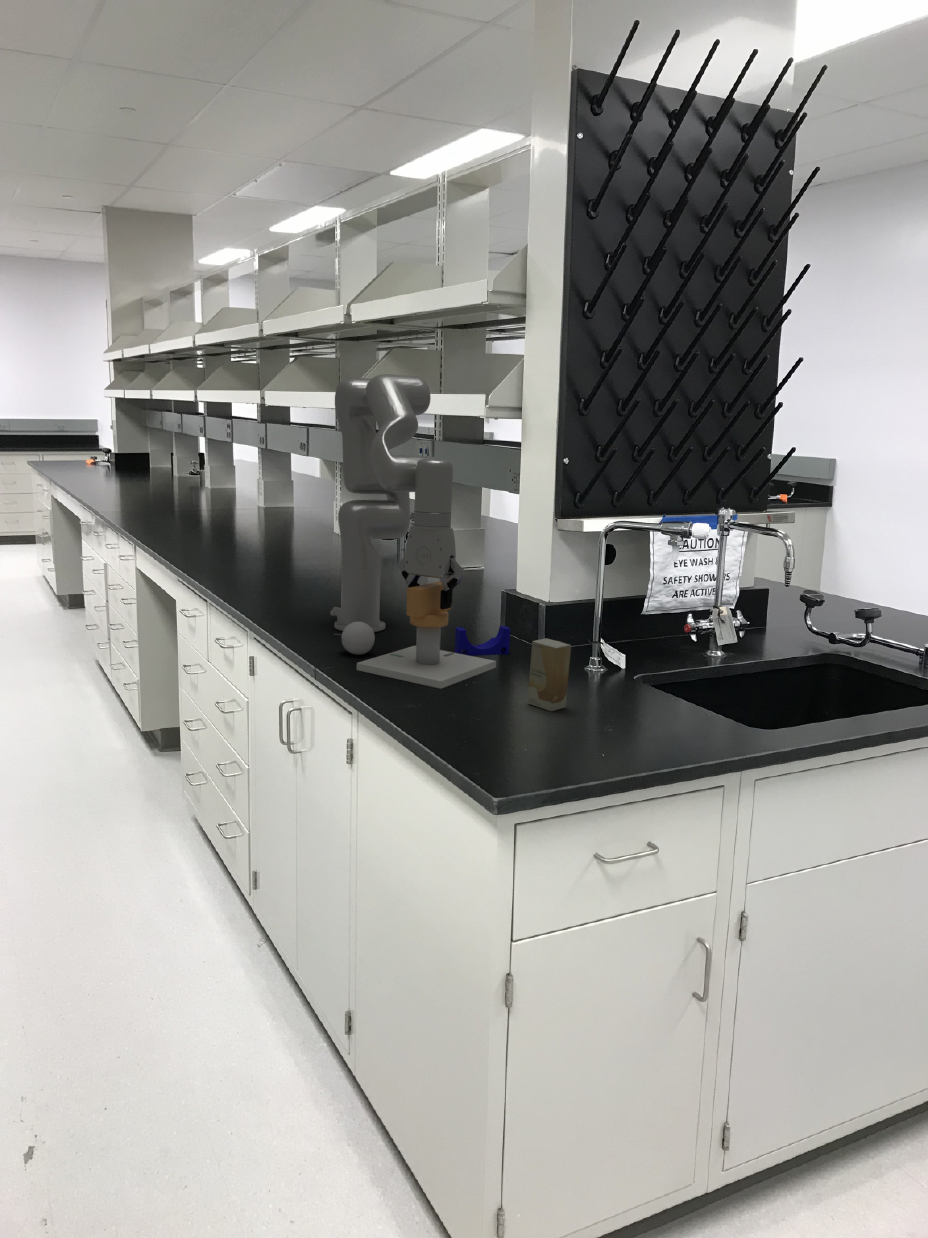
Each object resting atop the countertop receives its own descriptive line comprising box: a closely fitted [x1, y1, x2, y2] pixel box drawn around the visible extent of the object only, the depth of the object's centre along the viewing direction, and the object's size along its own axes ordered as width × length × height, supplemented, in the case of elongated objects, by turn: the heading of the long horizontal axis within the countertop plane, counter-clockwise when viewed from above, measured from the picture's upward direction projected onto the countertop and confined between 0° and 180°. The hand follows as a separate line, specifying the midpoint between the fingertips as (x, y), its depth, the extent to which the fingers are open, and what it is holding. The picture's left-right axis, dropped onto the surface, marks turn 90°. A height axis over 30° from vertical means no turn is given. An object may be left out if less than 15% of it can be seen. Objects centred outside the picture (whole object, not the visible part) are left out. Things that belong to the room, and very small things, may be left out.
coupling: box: [405, 580, 452, 628], centre depth 194 cm, size 12×8×8 cm, turn 147°
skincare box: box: [527, 637, 572, 712], centre depth 173 cm, size 6×4×12 cm
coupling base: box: [356, 626, 497, 689], centre depth 196 cm, size 21×21×10 cm
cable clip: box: [454, 625, 511, 657], centre depth 212 cm, size 12×4×6 cm, turn 108°
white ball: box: [335, 622, 376, 656], centre depth 206 cm, size 10×7×7 cm
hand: (429, 605), depth 194 cm, fingers open, 7 cm apart
